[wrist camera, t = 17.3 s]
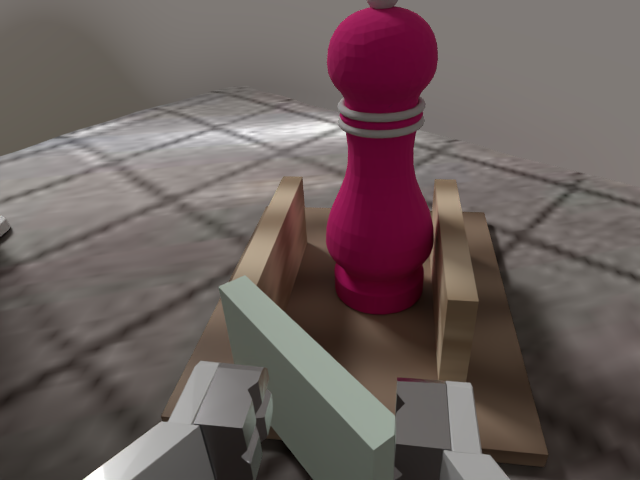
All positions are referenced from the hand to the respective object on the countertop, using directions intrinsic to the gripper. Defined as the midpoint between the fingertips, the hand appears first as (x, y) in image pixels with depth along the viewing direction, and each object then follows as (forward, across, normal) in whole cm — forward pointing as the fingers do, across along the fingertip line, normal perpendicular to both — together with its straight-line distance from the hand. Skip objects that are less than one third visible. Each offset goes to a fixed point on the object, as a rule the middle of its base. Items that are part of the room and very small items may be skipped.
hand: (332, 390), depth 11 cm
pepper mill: (+21, 0, +14) cm, 25 cm away
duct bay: (+20, +1, +14) cm, 24 cm away
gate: (+7, +3, +13) cm, 15 cm away
